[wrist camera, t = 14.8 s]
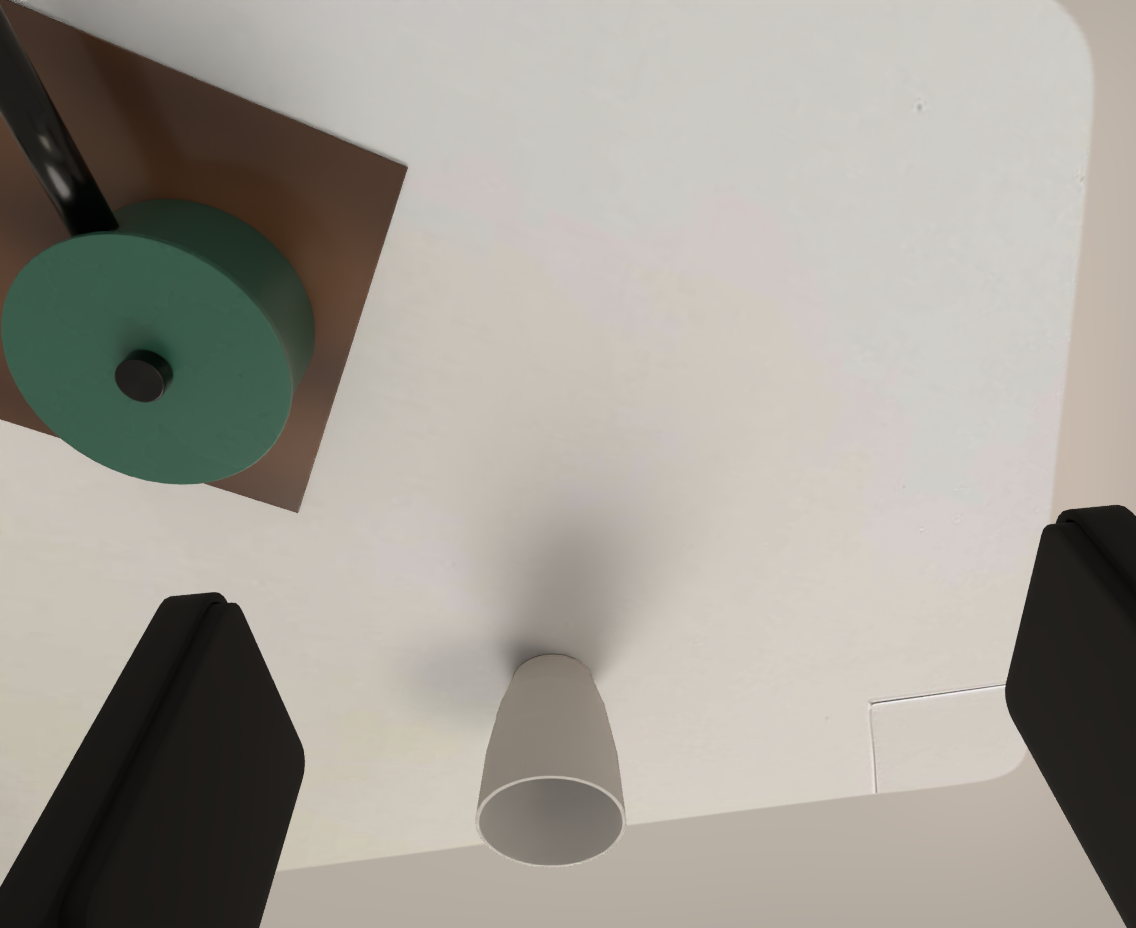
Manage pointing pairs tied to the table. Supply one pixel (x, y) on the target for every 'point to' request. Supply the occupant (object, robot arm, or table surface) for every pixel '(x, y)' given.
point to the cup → (551, 769)
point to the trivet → (215, 178)
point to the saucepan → (147, 316)
